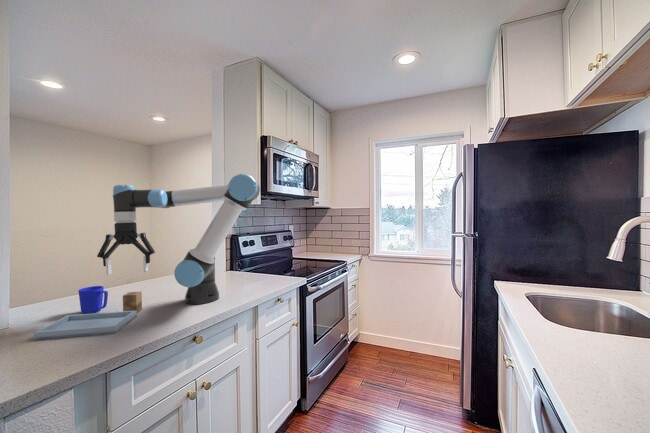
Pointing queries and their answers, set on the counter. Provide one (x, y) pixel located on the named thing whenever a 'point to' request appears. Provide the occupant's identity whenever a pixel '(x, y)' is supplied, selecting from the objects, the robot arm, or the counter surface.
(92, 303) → the mug
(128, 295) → the walnut block
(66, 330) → the tray
